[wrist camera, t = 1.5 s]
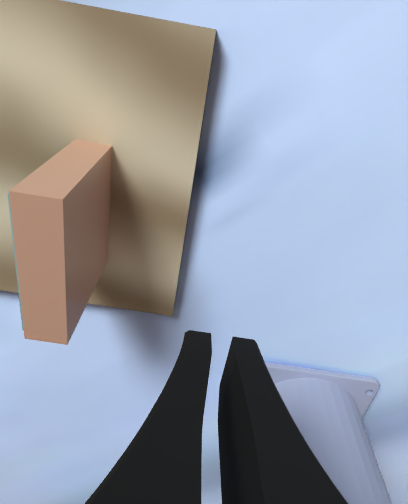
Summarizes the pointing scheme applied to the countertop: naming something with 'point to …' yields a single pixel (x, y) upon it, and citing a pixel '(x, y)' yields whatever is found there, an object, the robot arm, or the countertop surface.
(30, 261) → the tile
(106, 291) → the board
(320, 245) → the countertop surface
